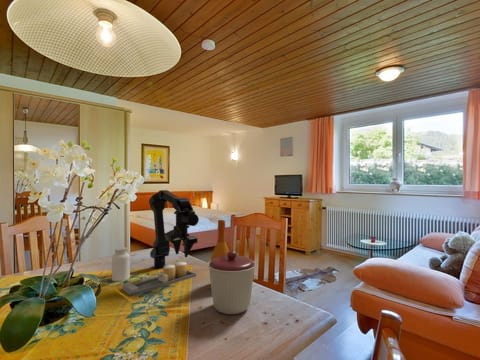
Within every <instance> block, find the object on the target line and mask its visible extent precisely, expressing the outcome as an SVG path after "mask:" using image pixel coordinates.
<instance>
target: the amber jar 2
mask: <svg viewBox="0 0 480 360" xmlns="http://www.w3.org/2000/svg"><path fill="white" fill-rule="evenodd" d="M187 270H188V263H187V262H186V261H178V262H175V278H177V279H178V278H181V277H185V276H187Z"/></svg>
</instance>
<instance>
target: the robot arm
mask: <svg viewBox="0 0 480 360" xmlns="http://www.w3.org/2000/svg"><path fill="white" fill-rule="evenodd" d="M167 202H168V203H170V204H171V205H172V208H173V209H174V210H175V211H174V212H173V214H174V215H175V225H173V229H171V230H169V231H167V232H165V223H164V222H165V221H164V209H165V208H166V203H167ZM148 204H149V208H150V210H151V211H152V212H153V219H154V230H155V233H154V234H155V240H154V242H153V245H152V249H151V251H150V252H149V253H150V254H149V256H150V258H152V259H153V265H152V266H151V269H153V270H161V269H163V267H164V266H165V265H166V257H168V256H169V255H170V249H171V247H170V243H171V244H172V246H173V249H174V252H175V255H179V252H180V248H181V245H182V246H183V252H184V253H183V254H184V258H187V257H188V256H189V254H190V252H191V250H192V248H193V246H194V245H195V244H197V243H198V238H197V236H194V235H190V233H188V229H190V226H191V227H194V226H197V225H198V223H199V222H200V221H199V220H200V218H199V216H198V215H197V214H196V211H195V210H194V208H193V205H192V203H191V202H190V199H189V198H187V197H181V196H178V195H176V194H174V193H172V192H170V191H169V190H166V189H162V190H161V189H160V190H159V191H158V192H156V193H155V194H152V196H150V198H149V199H148Z"/></svg>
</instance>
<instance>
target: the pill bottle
mask: <svg viewBox="0 0 480 360" xmlns="http://www.w3.org/2000/svg"><path fill="white" fill-rule="evenodd" d="M114 253H115V254H113V255H112V257H111V280H112V281H113V282H124V281H127V280H129V279H130V275H131V255H130V253H128V248H127V247H125V246H122V247H121V246H120V247H116V248H114Z"/></svg>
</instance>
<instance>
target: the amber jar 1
mask: <svg viewBox="0 0 480 360" xmlns="http://www.w3.org/2000/svg"><path fill="white" fill-rule="evenodd" d="M162 273H164V274H166V275H168V281H171V280H175V265H174V264H165V266H164V267H163V268H162Z"/></svg>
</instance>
